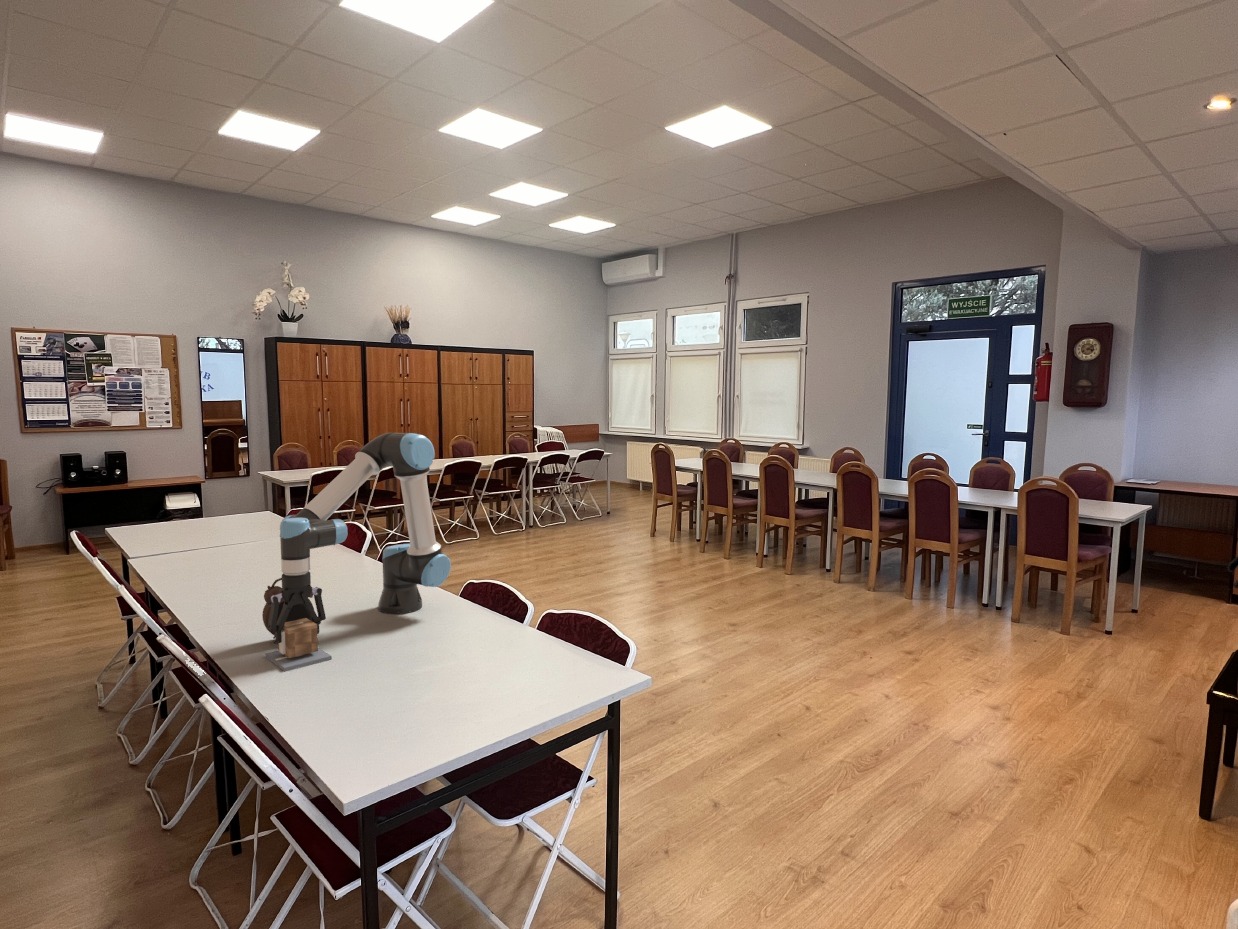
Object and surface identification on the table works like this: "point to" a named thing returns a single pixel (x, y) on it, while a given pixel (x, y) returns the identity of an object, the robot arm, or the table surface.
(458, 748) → the table surface
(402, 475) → the robot arm
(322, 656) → the plate
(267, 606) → the alarm clock
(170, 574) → the table surface
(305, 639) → the tan drawer box
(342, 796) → the table surface
